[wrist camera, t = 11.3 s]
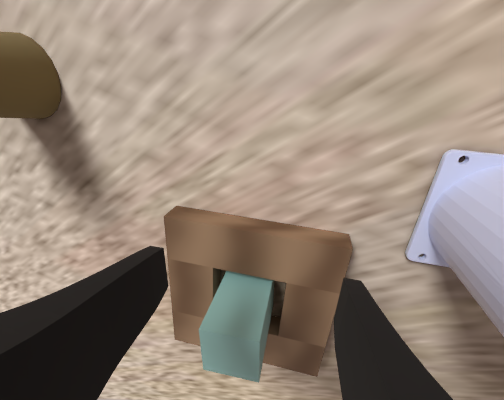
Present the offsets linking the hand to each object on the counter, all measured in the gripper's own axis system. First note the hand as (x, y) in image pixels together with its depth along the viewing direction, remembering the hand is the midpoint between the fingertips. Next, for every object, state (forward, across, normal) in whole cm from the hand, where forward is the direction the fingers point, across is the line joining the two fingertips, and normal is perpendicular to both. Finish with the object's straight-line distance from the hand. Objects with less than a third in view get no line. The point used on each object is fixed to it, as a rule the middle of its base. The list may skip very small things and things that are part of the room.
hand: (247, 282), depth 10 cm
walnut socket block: (+10, +2, +10) cm, 14 cm away
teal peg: (+10, +2, +9) cm, 14 cm away
